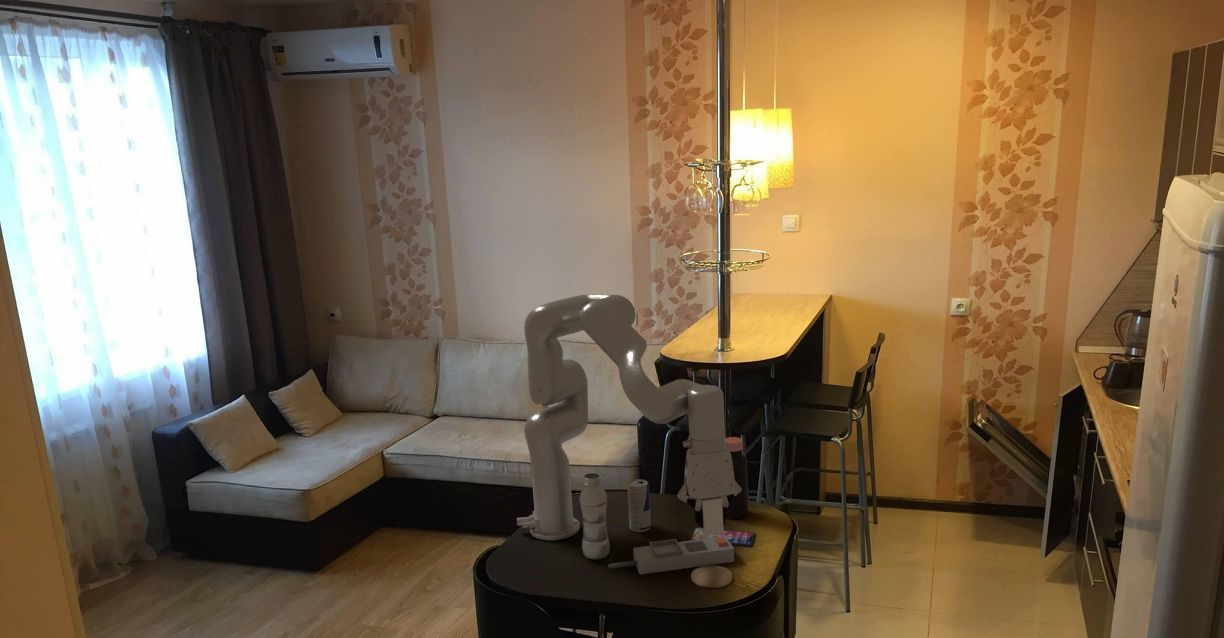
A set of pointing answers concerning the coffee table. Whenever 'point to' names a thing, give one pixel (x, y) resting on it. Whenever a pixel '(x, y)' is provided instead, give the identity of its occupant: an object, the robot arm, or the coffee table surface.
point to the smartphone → (728, 537)
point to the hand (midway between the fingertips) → (710, 523)
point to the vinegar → (738, 479)
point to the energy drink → (639, 505)
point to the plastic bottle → (594, 518)
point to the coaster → (711, 576)
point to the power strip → (680, 555)
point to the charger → (712, 516)
